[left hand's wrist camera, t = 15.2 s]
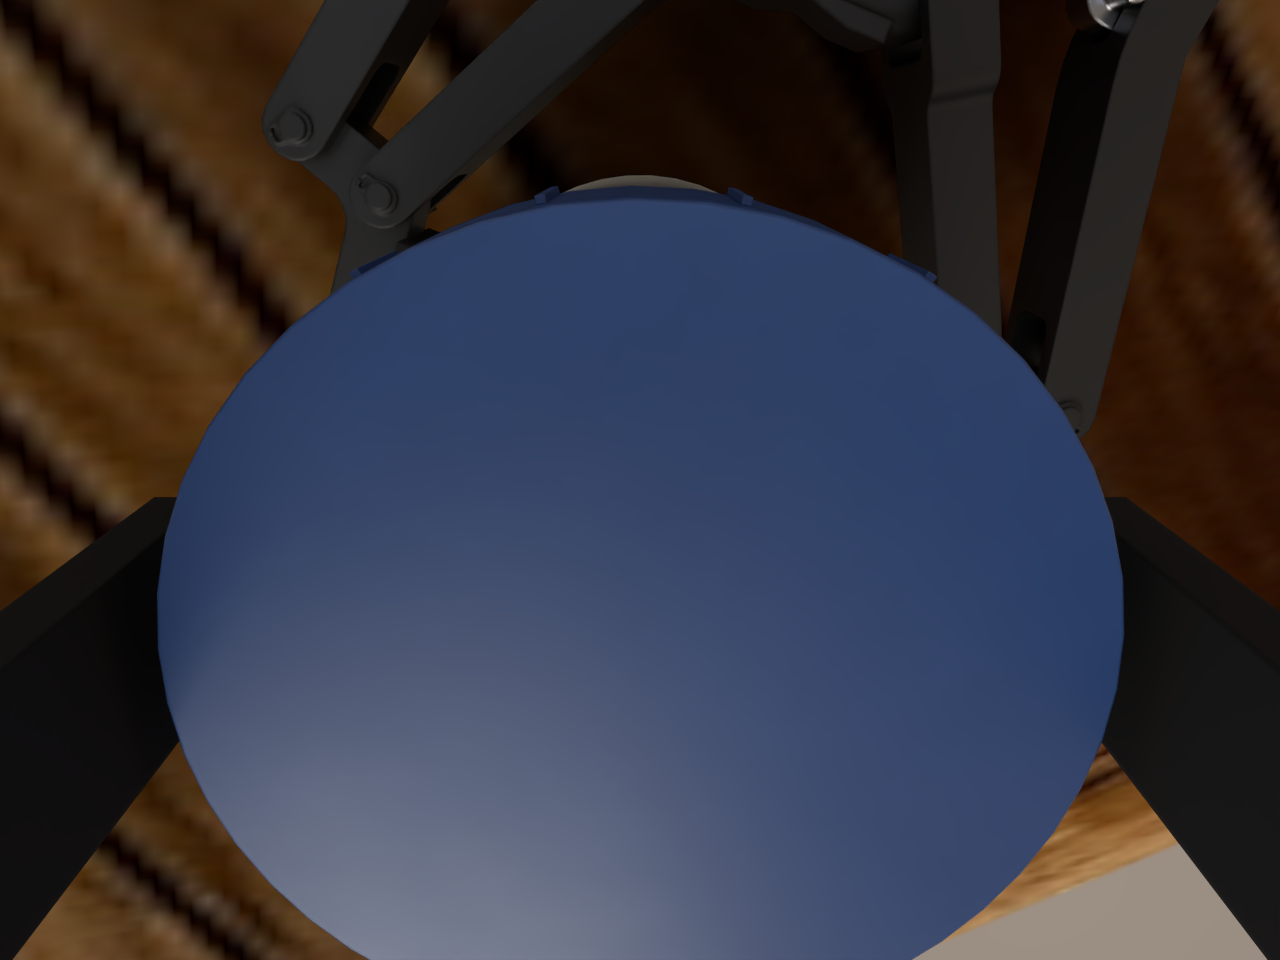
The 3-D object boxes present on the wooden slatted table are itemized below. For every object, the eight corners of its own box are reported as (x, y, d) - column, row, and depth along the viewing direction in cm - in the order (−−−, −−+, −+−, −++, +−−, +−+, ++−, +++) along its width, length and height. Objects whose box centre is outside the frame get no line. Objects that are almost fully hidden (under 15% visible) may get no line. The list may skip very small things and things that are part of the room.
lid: (826, 984, 15) (856, 1117, 13) (162, 788, 13) (77, 903, 11) (1213, 388, 11) (1339, 443, 9) (350, 24, 10) (274, -4, 8)
